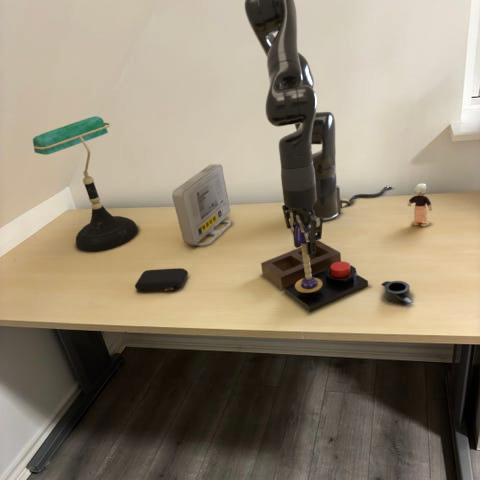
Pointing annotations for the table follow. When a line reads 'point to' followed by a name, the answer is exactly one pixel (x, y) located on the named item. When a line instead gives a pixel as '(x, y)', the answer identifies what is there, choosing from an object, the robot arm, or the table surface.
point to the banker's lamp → (89, 187)
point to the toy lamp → (305, 259)
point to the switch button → (340, 269)
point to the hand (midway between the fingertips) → (305, 249)
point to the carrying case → (161, 279)
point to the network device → (202, 205)
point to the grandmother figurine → (420, 205)
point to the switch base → (327, 289)
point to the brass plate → (300, 289)
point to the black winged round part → (397, 291)
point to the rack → (298, 265)
